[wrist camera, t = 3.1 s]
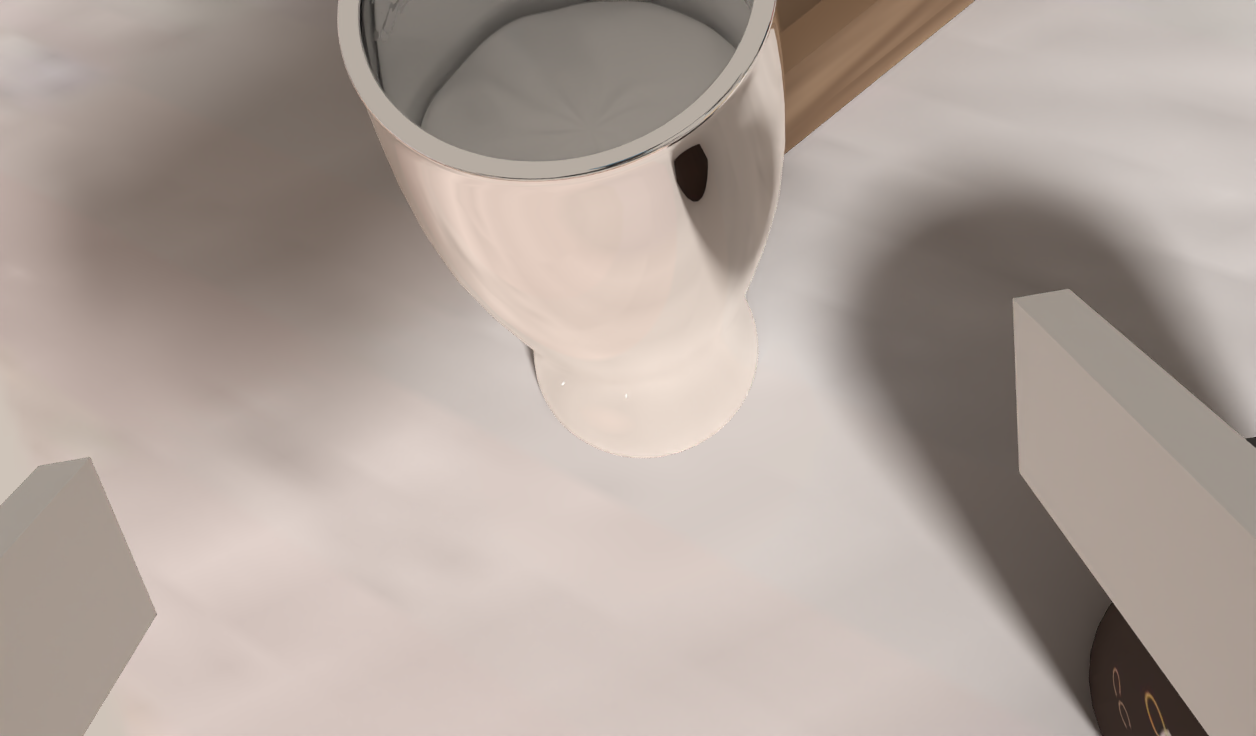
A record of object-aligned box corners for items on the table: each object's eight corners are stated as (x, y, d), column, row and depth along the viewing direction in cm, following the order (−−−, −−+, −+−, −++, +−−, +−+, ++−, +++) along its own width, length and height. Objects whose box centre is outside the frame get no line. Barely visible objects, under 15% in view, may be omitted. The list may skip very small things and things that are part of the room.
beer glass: (516, 253, 32) (326, -164, 18) (758, 224, 31) (762, -229, 17) (526, 489, 29) (315, 221, 15) (790, 461, 29) (824, 159, 15)
